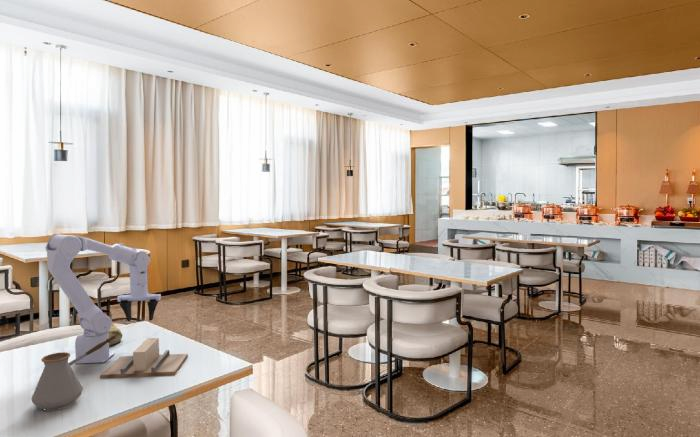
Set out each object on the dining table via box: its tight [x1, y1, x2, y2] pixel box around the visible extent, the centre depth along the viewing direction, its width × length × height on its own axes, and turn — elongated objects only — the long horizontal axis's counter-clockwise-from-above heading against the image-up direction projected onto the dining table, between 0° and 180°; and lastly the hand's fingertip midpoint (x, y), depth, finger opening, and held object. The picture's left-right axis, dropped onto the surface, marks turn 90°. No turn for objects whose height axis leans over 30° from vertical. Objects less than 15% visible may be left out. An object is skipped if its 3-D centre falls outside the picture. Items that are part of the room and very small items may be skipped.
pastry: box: [108, 322, 123, 347], centre depth 166 cm, size 14×12×8 cm
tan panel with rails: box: [99, 349, 189, 379], centre depth 143 cm, size 22×15×2 cm
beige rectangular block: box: [132, 337, 160, 371], centre depth 144 cm, size 4×13×6 cm, turn 6°
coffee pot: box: [31, 335, 119, 411], centre depth 122 cm, size 21×12×15 cm, turn 137°
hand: (140, 320), depth 163 cm, fingers open, 7 cm apart
